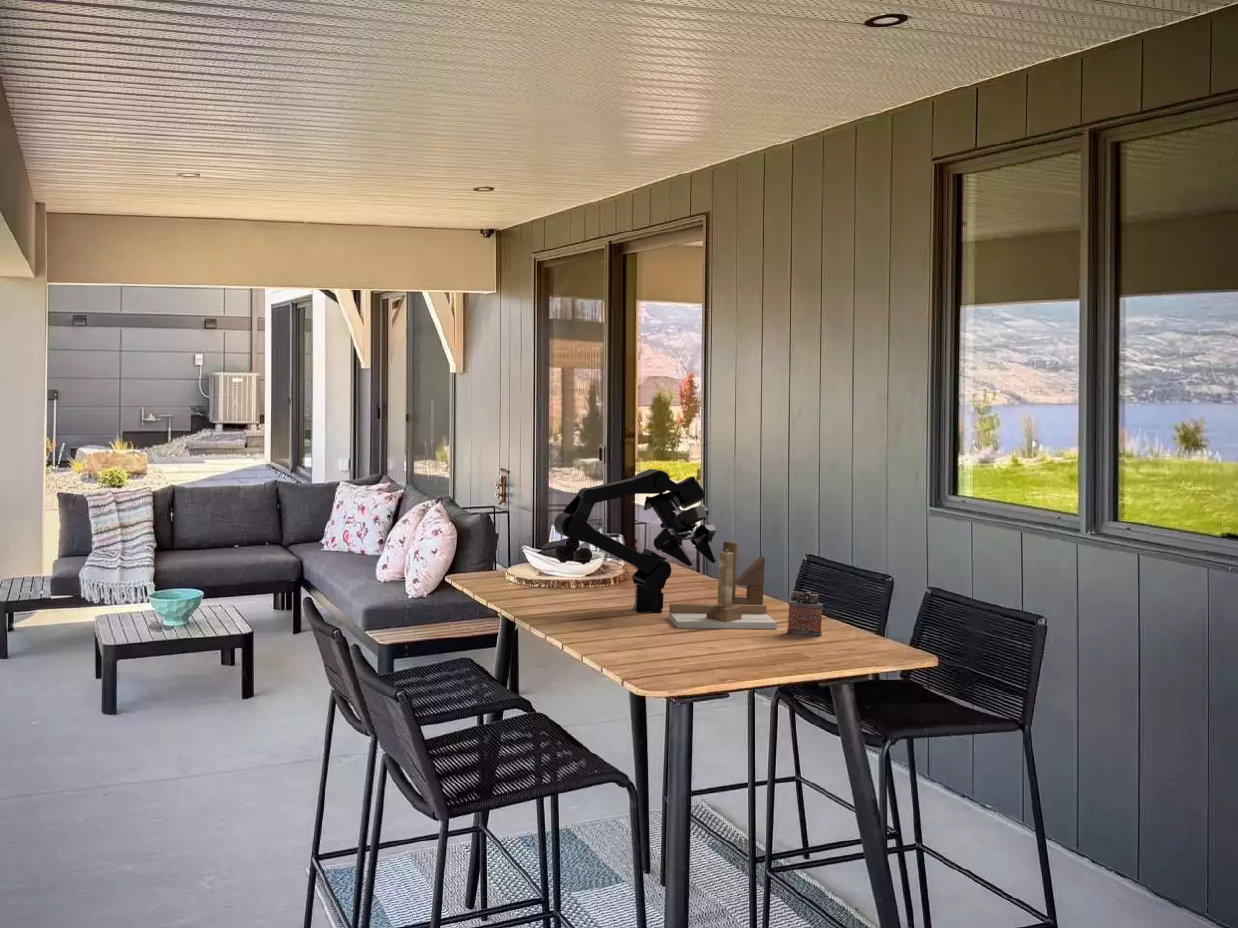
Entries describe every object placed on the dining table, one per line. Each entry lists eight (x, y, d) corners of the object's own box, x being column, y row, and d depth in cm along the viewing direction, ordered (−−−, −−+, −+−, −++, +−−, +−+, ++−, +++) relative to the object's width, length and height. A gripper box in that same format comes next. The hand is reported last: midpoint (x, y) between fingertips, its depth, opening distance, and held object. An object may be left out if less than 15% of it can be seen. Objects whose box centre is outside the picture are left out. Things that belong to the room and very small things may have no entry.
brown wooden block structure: (762, 613, 300) (765, 543, 299) (722, 613, 298) (724, 542, 297) (758, 610, 304) (761, 541, 302) (718, 610, 302) (721, 540, 300)
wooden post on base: (706, 618, 283) (709, 548, 282) (721, 615, 287) (724, 546, 286) (726, 622, 279) (729, 551, 278) (741, 619, 283) (744, 549, 282)
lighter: (822, 634, 276) (824, 592, 275) (820, 637, 272) (822, 594, 272) (788, 631, 278) (790, 589, 277) (785, 633, 275) (787, 591, 274)
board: (677, 627, 278) (678, 613, 277) (669, 617, 289) (669, 603, 289) (776, 628, 281) (777, 614, 280) (764, 618, 292) (765, 604, 292)
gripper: (664, 495, 285) (697, 546, 278) (712, 492, 299) (745, 540, 292) (638, 524, 291) (671, 574, 284) (687, 520, 305) (719, 567, 298)
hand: (702, 563), depth 289 cm, fingers open, 9 cm apart
